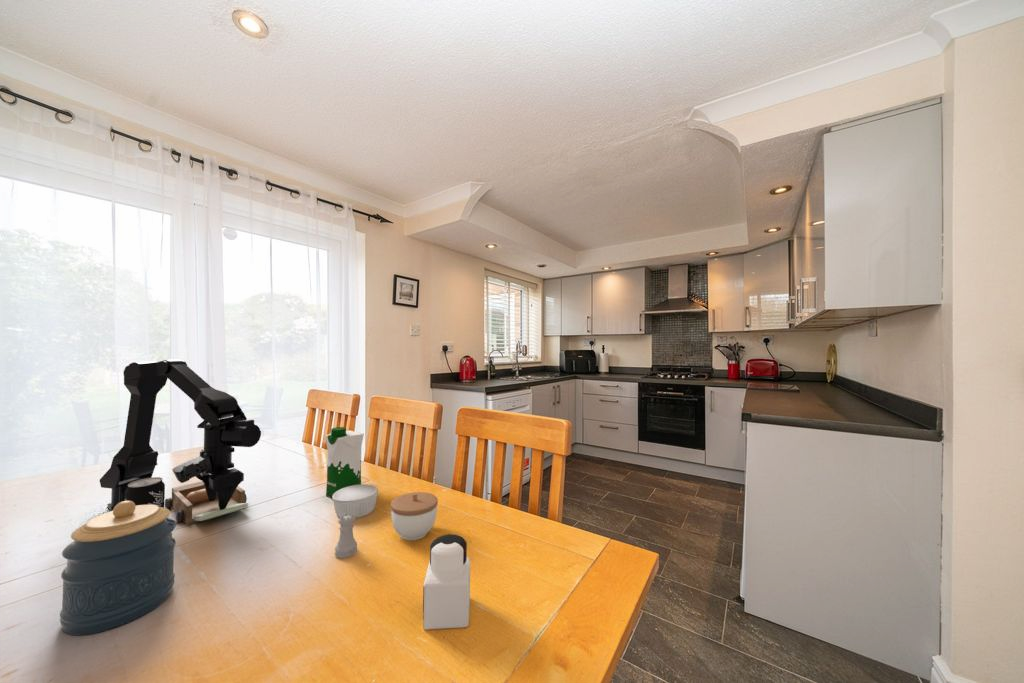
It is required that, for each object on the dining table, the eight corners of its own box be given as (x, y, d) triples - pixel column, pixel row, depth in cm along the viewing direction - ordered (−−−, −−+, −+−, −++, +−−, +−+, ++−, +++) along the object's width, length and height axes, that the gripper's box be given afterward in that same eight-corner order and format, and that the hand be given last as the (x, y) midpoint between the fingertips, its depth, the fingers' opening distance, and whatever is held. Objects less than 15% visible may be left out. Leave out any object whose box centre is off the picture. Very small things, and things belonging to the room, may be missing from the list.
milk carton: (321, 496, 106) (322, 428, 106) (349, 486, 113) (350, 422, 114) (338, 503, 101) (339, 432, 101) (366, 492, 108) (367, 426, 109)
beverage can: (137, 541, 80) (139, 488, 80) (115, 538, 81) (117, 485, 82) (171, 527, 87) (172, 477, 87) (150, 524, 88) (151, 475, 88)
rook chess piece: (362, 549, 78) (362, 512, 78) (346, 561, 74) (347, 522, 74) (345, 545, 79) (346, 509, 79) (329, 556, 75) (330, 518, 75)
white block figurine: (429, 599, 63) (430, 530, 63) (469, 596, 63) (470, 528, 64) (422, 631, 56) (423, 553, 56) (468, 628, 56) (469, 551, 57)
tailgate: (193, 516, 89) (200, 516, 86) (239, 503, 97) (247, 503, 93) (194, 521, 89) (201, 522, 85) (239, 508, 96) (247, 508, 93)
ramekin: (322, 516, 93) (322, 496, 93) (355, 499, 103) (356, 481, 104) (354, 525, 89) (355, 503, 89) (386, 506, 99) (386, 487, 99)
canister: (67, 652, 51) (71, 528, 52) (52, 615, 58) (56, 506, 58) (185, 598, 62) (188, 496, 63) (161, 573, 69) (163, 481, 70)
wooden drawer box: (163, 506, 98) (164, 489, 98) (227, 490, 109) (227, 475, 109) (180, 526, 87) (181, 507, 87) (249, 505, 99) (249, 489, 99)
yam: (184, 504, 97) (184, 492, 97) (220, 494, 104) (220, 483, 104) (187, 507, 95) (187, 495, 95) (224, 497, 102) (224, 485, 102)
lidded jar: (446, 533, 85) (446, 493, 85) (405, 551, 77) (406, 508, 77) (421, 518, 92) (421, 481, 93) (381, 533, 85) (382, 493, 85)
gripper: (167, 445, 93) (166, 506, 92) (187, 459, 82) (185, 528, 81) (221, 437, 102) (220, 492, 101) (245, 448, 91) (243, 510, 90)
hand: (216, 505), depth 93 cm, fingers open, 8 cm apart
